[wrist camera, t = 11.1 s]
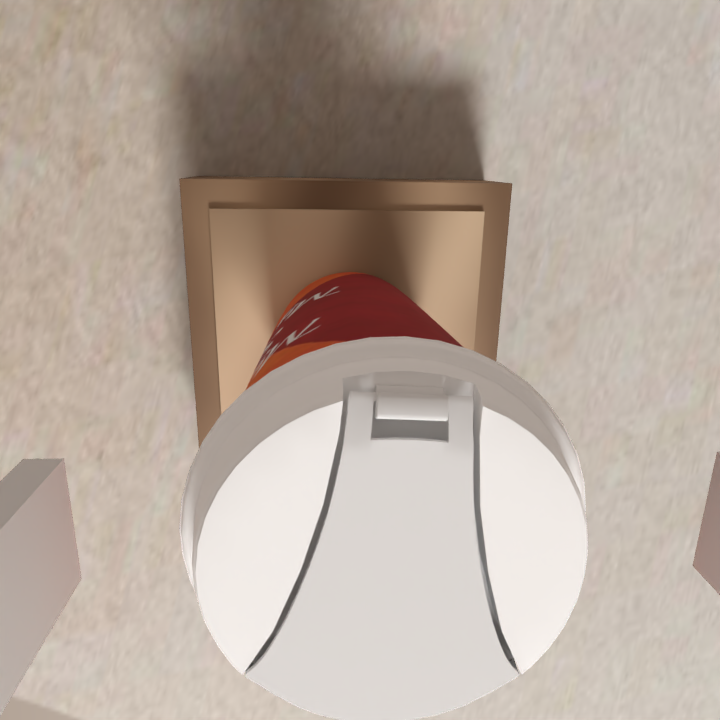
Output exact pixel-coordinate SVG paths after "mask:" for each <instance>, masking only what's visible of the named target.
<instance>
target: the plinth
mask: <svg viewBox="0 0 720 720" xmlns="http://www.w3.org/2000/svg"><path fill="white" fill-rule="evenodd" d="M179 180H180V193H181V207H182V221H183V234H184V248H185V262H186V275H187V289H188V303H189V317H190V330H191V344H192V358H193V371H194V385H195V399H196V412H197V426H198V440H199V448H200V446H201V444H202V442H203V440H204V439H205V437H206V436H207V434H208V433H209V431H210V430H211V428H212V427H213V426H214V424H215V423H216V421H217V420H218V418H219V417H220V415H221V414H222V413H223V412H224V411H225V410H226V409H227V408H228V407H229V406H230V405H231V404H232V403H233V402H234V401H235V400H236V399H237V398H238V397H239V396H240V395H241V394H242V393H243V392H244V391H245V390H246V388H247V386H248V383H249V381H250V379H251V377H252V375H253V373H254V371H255V368H256V366H257V364H258V362H259V360H260V358H261V356H262V354H263V352H264V350H265V347H266V345H267V343H268V341H269V339H270V337H271V335H272V333H273V331H274V329H275V327H276V325H277V323H278V321H279V319H280V318H281V316H282V314H283V312H284V311H285V309H286V307H287V306H288V305H289V303H290V302H291V301H292V299H293V298H294V297H295V296H296V295H297V294H298V293H299V292H300V291H301V290H302V289H304V288H305V287H306V286H308V285H309V284H310V283H312V282H314V281H316V280H318V279H320V278H322V277H325V276H328V275H331V274H336V273H342V272H358V273H365V274H369V275H373V276H375V277H378V278H380V279H383V280H385V281H386V282H388V283H390V284H392V285H393V286H395V287H396V288H397V289H399V290H400V291H401V292H403V293H404V294H405V295H406V296H408V297H409V298H410V299H411V300H412V301H413V302H414V303H416V304H417V305H418V306H419V307H420V308H421V309H422V310H423V311H425V312H426V313H427V314H428V315H429V316H430V317H431V318H432V319H433V320H435V321H436V322H437V323H438V324H439V325H440V326H441V327H442V328H443V329H444V330H446V331H447V332H448V333H449V334H450V335H451V336H452V337H453V338H454V339H455V340H456V341H457V342H459V343H460V344H461V345H462V346H463V347H464V348H467V349H470V350H473V351H475V352H477V353H480V354H482V355H484V356H486V357H488V358H490V359H492V360H494V361H496V357H497V346H498V335H499V324H500V313H501V301H502V290H503V279H504V268H505V257H506V246H507V235H508V224H509V213H510V202H511V191H512V184H511V183H502V182H494V181H485V180H419V179H352V178H286V177H219V176H196V177H189V178H181V179H179Z"/></svg>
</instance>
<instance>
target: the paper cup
mask: <svg viewBox="0 0 720 720" xmlns="http://www.w3.org/2000/svg"><path fill="white" fill-rule="evenodd" d="M585 512H586V503H585V483H584V478H583V474H582V470H581V466H580V461H579V457H578V454H577V452H576V449H575V447H574V445H573V443H572V440H571V438H570V436H569V434H568V431H567V429H566V428H565V426H564V425H563V423H562V422H561V420H560V419H559V417H558V416H557V415H556V413H555V412H554V410H553V409H552V407H551V406H550V405H549V404H548V403H547V402H546V400H545V399H544V398H543V397H542V396H541V395H540V394H539V393H538V392H537V391H536V390H535V389H534V388H533V387H532V386H531V385H530V384H529V383H528V382H526V381H525V380H524V379H522V378H521V377H519V376H518V375H516V374H515V373H514V372H512V371H511V370H509V369H508V368H507V367H505V366H504V365H502V364H500V363H498V362H496V361H494V360H492V359H490V358H488V357H486V356H484V355H482V354H480V353H477V352H475V351H473V350H470V349H467V348H464V347H463V346H462V345H461V344H460V343H459V342H457V341H456V340H455V339H454V338H453V337H452V336H451V335H450V334H449V333H448V332H447V331H446V330H444V329H443V328H442V327H441V326H440V325H439V324H438V323H437V322H436V321H435V320H433V319H432V318H431V317H430V316H429V315H428V314H427V313H426V312H425V311H423V310H422V309H421V308H420V307H419V306H418V305H417V304H416V303H414V302H413V301H412V300H411V299H410V298H409V297H408V296H406V295H405V294H404V293H403V292H401V291H400V290H399V289H397V288H396V287H395V286H393V285H392V284H390V283H388V282H386V281H385V280H383V279H380V278H378V277H375V276H373V275H369V274H365V273H358V272H342V273H336V274H331V275H328V276H325V277H322V278H320V279H318V280H316V281H314V282H312V283H310V284H309V285H308V286H306V287H305V288H304V289H302V290H301V291H300V292H299V293H298V294H297V295H296V296H295V297H294V298H293V299H292V301H291V302H290V303H289V305H288V306H287V307H286V309H285V311H284V312H283V314H282V316H281V318H280V319H279V321H278V323H277V325H276V327H275V329H274V331H273V333H272V335H271V337H270V339H269V341H268V343H267V345H266V347H265V350H264V352H263V354H262V356H261V358H260V360H259V362H258V364H257V366H256V368H255V371H254V373H253V375H252V377H251V379H250V381H249V383H248V386H247V388H246V390H245V391H244V392H243V393H242V394H241V395H240V396H239V397H238V398H237V399H236V400H235V401H234V402H233V403H232V404H231V405H230V406H229V407H228V408H227V409H226V410H225V411H224V412H223V413H222V414H221V415H220V417H219V418H218V420H217V421H216V423H215V424H214V426H213V427H212V428H211V430H210V431H209V433H208V434H207V436H206V437H205V439H204V440H203V442H202V444H201V446H200V448H199V450H198V452H197V454H196V457H195V459H194V461H193V463H192V465H191V467H190V470H189V473H188V477H187V481H186V484H185V488H184V492H183V496H182V500H181V514H180V528H179V529H180V537H181V546H182V554H183V559H184V562H185V565H186V569H187V572H188V575H189V578H190V582H191V584H192V586H193V588H194V590H195V594H196V598H197V601H198V604H199V607H200V611H201V614H202V617H203V620H204V622H205V624H206V626H207V628H208V629H209V631H210V633H211V635H212V637H213V639H214V641H215V643H216V644H217V646H218V647H219V649H220V650H221V651H222V652H223V654H224V655H225V656H226V658H227V659H228V660H229V661H230V663H231V664H232V665H233V667H234V668H235V669H236V670H238V671H239V672H240V673H241V674H242V675H243V674H244V672H245V671H246V674H245V677H246V678H248V679H249V680H251V681H253V682H254V683H256V684H257V685H259V686H261V687H262V688H264V689H265V690H267V691H269V692H270V693H272V694H274V695H275V696H277V697H279V698H281V699H283V700H285V701H287V702H289V703H290V704H292V705H294V706H296V707H298V708H300V709H303V710H306V711H309V712H312V713H315V714H318V715H321V716H323V717H328V718H334V719H340V720H415V719H420V718H426V717H432V716H436V715H439V714H442V713H445V712H448V711H452V710H455V709H458V708H461V707H463V706H465V705H467V704H469V703H471V702H473V701H475V700H477V699H479V698H481V697H483V696H485V695H487V694H489V693H491V692H492V691H494V690H496V689H498V688H499V687H501V686H503V685H505V684H506V683H508V682H510V681H512V680H513V679H515V678H517V677H518V676H519V672H518V670H517V667H516V664H515V661H516V663H517V666H518V668H519V670H520V672H521V674H523V673H524V672H525V671H527V670H528V669H529V668H530V667H531V666H532V665H533V664H534V663H535V662H536V661H537V660H538V659H539V658H540V657H541V656H542V655H543V654H544V653H545V652H546V651H547V650H548V648H549V647H550V646H551V645H552V643H553V642H554V640H555V639H556V638H557V636H558V635H559V633H560V632H561V630H562V629H563V628H564V626H565V624H566V622H567V620H568V618H569V616H570V614H571V612H572V610H573V608H574V606H575V604H576V602H577V599H578V596H579V593H580V590H581V586H582V583H583V580H584V575H585V569H586V562H587V554H588V532H587V518H586V514H585ZM514 659H515V661H514Z"/></svg>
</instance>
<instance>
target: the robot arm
mask: <svg viewBox="0 0 720 720" xmlns="http://www.w3.org/2000/svg"><path fill="white" fill-rule="evenodd" d="M693 566H694V567H695V569H696V570H697V571H698V572H699V573H700V574H701V575H702V576H703V577H704V578H705V579H706V581H707V582H708V583H709V584H710V585H711V586H712V587H713V588H714V589H715V590H716V591H717V593H718V594H719V595H720V452H717V454H716V459H715V464H714V468H713V473H712V478H711V482H710V487H709V492H708V496H707V501H706V506H705V510H704V515H703V519H702V524H701V529H700V533H699V538H698V543H697V547H696V552H695V557H694V561H693ZM80 580H81V572H80V565H79V558H78V551H77V545H76V538H75V531H74V524H73V517H72V511H71V504H70V497H69V490H68V483H67V477H66V470H65V463H64V459H23V460H22V461H21V462H20V463H19V464H18V465H17V466H16V467H15V468H14V469H12V470H11V471H10V472H9V473H8V474H7V475H6V476H5V477H4V478H3V479H2V480H1V481H0V716H1V714H2V712H3V710H4V709H5V707H6V705H7V703H8V702H9V700H10V699H11V697H12V695H13V694H14V692H15V690H16V689H17V687H18V685H19V683H20V682H21V680H22V678H23V677H24V675H25V673H26V672H27V670H28V668H29V667H30V665H31V663H32V661H33V660H34V658H35V656H36V655H37V653H38V651H39V650H40V648H41V646H42V645H43V643H44V641H45V639H46V638H47V636H48V634H49V633H50V631H51V629H52V628H53V626H54V624H55V622H56V621H57V619H58V617H59V616H60V614H61V612H62V611H63V609H64V607H65V606H66V604H67V602H68V600H69V599H70V597H71V595H72V594H73V592H74V590H75V589H76V587H77V585H78V584H79V582H80Z"/></svg>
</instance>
